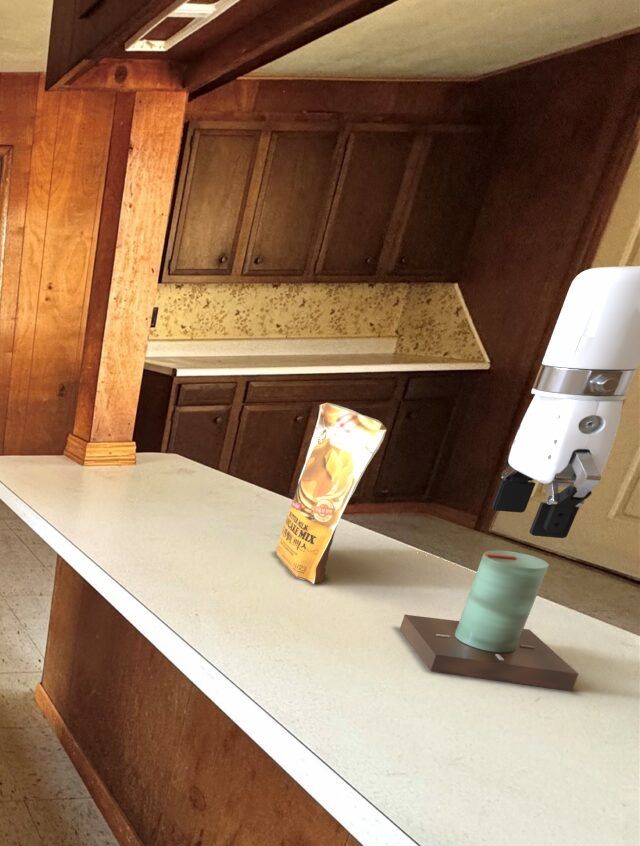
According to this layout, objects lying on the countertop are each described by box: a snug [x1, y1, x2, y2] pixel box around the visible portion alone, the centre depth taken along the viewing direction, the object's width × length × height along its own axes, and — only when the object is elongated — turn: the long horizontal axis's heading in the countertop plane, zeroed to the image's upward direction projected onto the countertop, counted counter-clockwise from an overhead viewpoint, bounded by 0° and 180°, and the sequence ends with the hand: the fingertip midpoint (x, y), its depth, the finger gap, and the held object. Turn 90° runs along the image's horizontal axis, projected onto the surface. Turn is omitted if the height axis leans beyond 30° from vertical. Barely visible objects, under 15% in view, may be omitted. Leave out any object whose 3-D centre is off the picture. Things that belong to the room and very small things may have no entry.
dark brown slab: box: [399, 614, 579, 692], centre depth 89 cm, size 14×12×3 cm
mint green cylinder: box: [455, 549, 550, 653], centre depth 86 cm, size 6×6×12 cm
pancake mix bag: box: [276, 402, 388, 585], centre depth 113 cm, size 7×19×28 cm, turn 164°
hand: (526, 522), depth 82 cm, fingers open, 9 cm apart
